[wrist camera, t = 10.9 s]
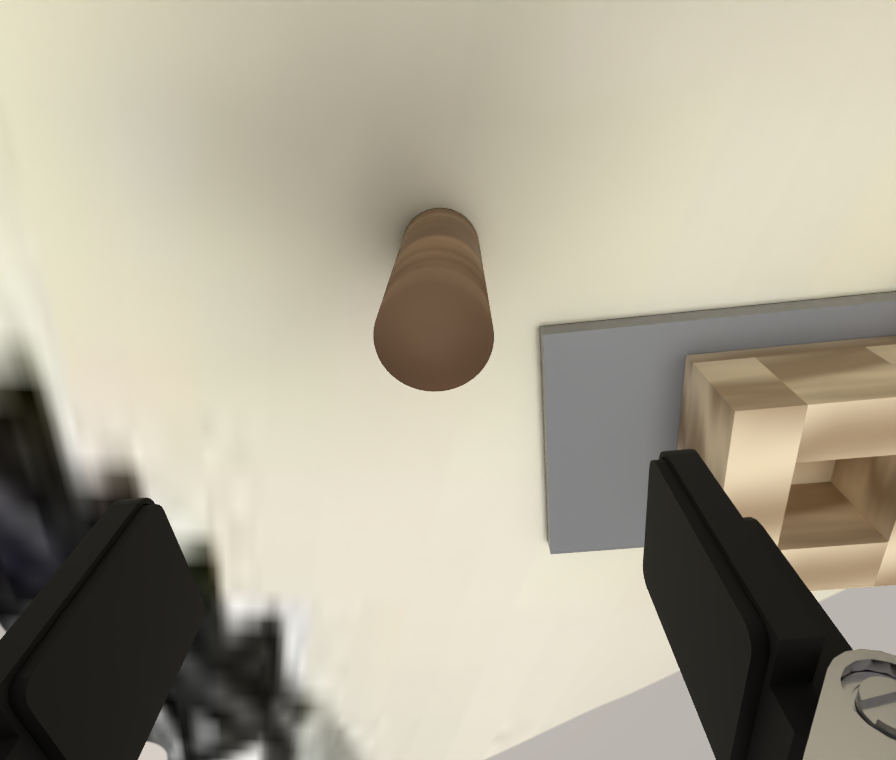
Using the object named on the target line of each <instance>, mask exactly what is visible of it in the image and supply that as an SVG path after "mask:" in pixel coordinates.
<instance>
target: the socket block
mask: <svg viewBox="0 0 896 760" xmlns="http://www.w3.org/2000/svg"><path fill="white" fill-rule="evenodd" d="M682 449H695V450H696V451H697V452H698V454H699V455H700V457H701V458H702V460H703V461H704V462H705V464H706V465H707V467H708V468H709V470H710V471H711V472H712V474H713V475H714V477H715V478H716V480H717V481H718V483H719V484H720V485H721V487H722V488H723V490H724V491H725V493H726V494H727V495H728V497H729V498H730V500H731V501H732V503H733V504H734V506H735V507H736V508H737V510H738V511H739V513H740V514H741V516H742V517H752V518H754V519H756V520H758V521H759V523H760V524H761V525H762V526H763V527H764V528H765V530H766V531H767V533H768V534H769V535H770V537H771V538H772V539H773V541H774V542H775V544H776V545H777V546H778V548H779V549H780V550H781V552H782V553H783V555H784V556H785V557H786V559H787V560H788V561H789V563H790V564H791V566H792V567H793V568H794V570H795V571H796V572H797V574H798V575H799V577H800V578H801V579H802V581H803V582H804V583H805V585H806V586H807V588H808V589H809V590H810V591H815V590H829V589H844V588H857V587H872V586H887V585H896V335H894V336H883V337H873V338H862V339H851V340H841V341H830V342H820V343H809V344H799V345H788V346H777V347H767V348H756V349H746V350H735V351H724V352H714V353H703V354H693V355H686V361H685V371H684V382H683V392H682V403H681V413H680V424H679V435H678V445H677V450H682Z"/></svg>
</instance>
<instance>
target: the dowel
mask: <svg viewBox="0 0 896 760" xmlns="http://www.w3.org/2000/svg"><path fill="white" fill-rule="evenodd" d="M493 343H494V331H493V324H492V318H491V312H490V306H489V300H488V294H487V288H486V282H485V277H484V271H483V265H482V259H481V253H480V247H479V241H478V236H477V233H476V231H475V229H474V227H473V225H472V224H471V223H470V221H469V220H468V219H467V218H466V217H464V216H463V215H462V214H460V213H458V212H456V211H454V210H451V209H446V208H435V209H430V210H427V211H425V212H423V213H421V214H419V215H418V216H417V217H415V218H414V219H413V220H412V221H411V223H410V224H409V225H408V227H407V229H406V231H405V234H404V237H403V240H402V243H401V246H400V249H399V252H398V255H397V258H396V261H395V264H394V267H393V270H392V273H391V276H390V279H389V282H388V285H387V288H386V291H385V294H384V297H383V300H382V303H381V306H380V309H379V312H378V315H377V318H376V321H375V326H374V345H375V349H376V352H377V355H378V357H379V359H380V361H381V363H382V364H383V366H384V367H385V368H386V370H387V371H388V372H389V373H390V374H391V375H392V376H393V377H395V378H396V379H397V380H399V381H400V382H402V383H404V384H406V385H408V386H410V387H413V388H416V389H419V390H424V391H445V390H450V389H454V388H457V387H459V386H462V385H464V384H465V383H467V382H469V381H470V380H472V379H473V378H474V377H475V376H476V375H477V374H479V373H480V371H481V370H482V369H483V368H484V366H485V365H486V363H487V362H488V360H489V357H490V355H491V352H492V349H493Z"/></svg>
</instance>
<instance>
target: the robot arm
mask: <svg viewBox="0 0 896 760" xmlns="http://www.w3.org/2000/svg"><path fill="white" fill-rule="evenodd" d="M643 574H644V579H645V583H646V586H647V589H648V591H649V594H650V596H651V599H652V601H653V604H654V606H655V609H656V611H657V614H658V616H659V619H660V621H661V624H662V626H663V629H664V631H665V634H666V636H667V639H668V641H669V644H670V646H671V648H672V651H673V653H674V656H675V658H676V661H677V663H678V666H679V668H680V671H681V673H682V675H683V678H684V681H685V683H686V686H687V688H688V691H689V693H690V696H691V698H692V701H693V703H694V705H695V708H696V711H697V713H698V716H699V718H700V721H701V723H702V726H703V728H704V730H705V733H706V735H707V738H708V740H709V743H710V745H711V748H712V750H713V753H714V755H715V758H716V760H896V656H895V655H892V654H888V653H885V652H882V651H876V650H867V649H858V650H853V649H852V648H851V647H850V645H849V644H848V643H847V641H846V640H845V638H844V637H843V636H842V634H841V633H840V632H839V630H838V629H837V627H836V626H835V625H834V624H833V622H832V621H831V620H830V618H829V616H828V615H827V614H826V612H825V611H824V610H823V609H822V607H821V605H820V604H819V603H818V601H817V600H816V599H815V597H814V596H813V594H812V593H811V592H810V590H809V589H808V588H807V586H806V585H805V583H804V582H803V581H802V579H801V578H800V577H799V575H798V574H797V572H796V571H795V570H794V568H793V567H792V566H791V564H790V563H789V561H788V560H787V559H786V557H785V556H784V555H783V553H782V552H781V550H780V549H779V548H778V546H777V545H776V544H775V542H774V541H773V539H772V538H771V537H770V535H769V534H768V533H767V531H766V530H765V528H764V527H763V526H762V525H761V524H760V523H759V521H758V520H756V519H754V518H752V517H742V516H741V514H740V513H739V511H738V510H737V508H736V507H735V506H734V504H733V503H732V501H731V500H730V498H729V497H728V495H727V494H726V493H725V491H724V490H723V488H722V487H721V485H720V484H719V483H718V481H717V480H716V478H715V477H714V475H713V474H712V472H711V471H710V470H709V468H708V467H707V465H706V464H705V462H704V461H703V460H702V458H701V457H700V455H699V454H698V452H697V451H696V450H695V449H682V450H671V451H662V452H661V453H660V455H659V460H652V461H651V462H650V466H649V479H648V495H647V510H646V526H645V541H644V557H643ZM203 617H204V602H203V599H202V597H201V594H200V592H199V590H198V587H197V585H196V583H195V581H194V578H193V576H192V574H191V571H190V569H189V567H188V564H187V562H186V560H185V558H184V555H183V553H182V551H181V548H180V546H179V544H178V541H177V539H176V537H175V535H174V532H173V530H172V528H171V525H170V523H169V521H168V519H167V516H166V514H165V512H164V510H163V508H162V507H161V506H160V505H157V504H155V503H154V501H152V500H151V499H150V498H137V499H126V500H118V501H115V502H114V503H113V504H112V505H111V506H110V507H109V508H108V509H107V510H106V512H105V513H104V514H103V515H102V517H101V518H100V519H99V520H98V521H97V523H96V524H95V525H94V526H93V528H92V529H91V530H90V531H89V532H88V534H87V535H86V536H85V537H84V539H83V540H82V541H81V542H80V543H79V545H78V546H77V547H76V548H75V550H74V551H73V552H72V553H71V554H70V556H69V557H68V558H67V559H66V560H65V562H64V563H63V564H62V565H61V567H60V568H59V569H58V570H57V571H56V573H55V574H54V575H53V576H52V578H51V579H50V580H49V581H48V582H47V584H46V585H45V586H44V587H43V589H42V590H41V591H40V592H39V593H38V595H37V596H36V597H35V598H34V599H33V601H32V602H31V603H30V604H29V606H28V607H27V608H26V609H25V610H24V612H23V613H22V614H21V615H20V617H19V618H18V619H17V620H16V621H15V623H14V624H13V625H12V626H11V628H10V629H9V630H8V631H7V632H6V634H5V635H4V636H3V637H2V639H1V640H0V760H138V758H139V756H140V754H141V751H142V749H143V747H144V745H145V743H146V741H147V739H148V736H149V734H150V732H151V730H152V728H153V726H154V724H155V721H156V719H157V717H158V715H159V713H160V711H161V709H162V706H163V704H164V702H165V700H166V698H167V696H168V694H169V691H170V689H171V687H172V685H173V683H174V681H175V679H176V676H177V674H178V672H179V670H180V668H181V666H182V664H183V661H184V659H185V657H186V655H187V653H188V651H189V649H190V646H191V644H192V642H193V640H194V638H195V636H196V634H197V631H198V629H199V627H200V625H201V623H202V620H203Z"/></svg>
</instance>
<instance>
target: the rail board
mask: <svg viewBox="0 0 896 760" xmlns="http://www.w3.org/2000/svg"><path fill="white" fill-rule="evenodd" d="M894 335H896V292H885V293H875V294H865V295H855V296H845V297H835V298H825V299H815V300H804V301H794V302H784V303H774V304H764V305H754V306H744V307H734V308H723V309H713V310H703V311H693V312H683V313H673V314H663V315H653V316H642V317H632V318H622V319H612V320H602V321H592V322H582V323H572V324H561V325H551V326H541V327H540V340H541V367H542V394H543V421H544V448H545V475H546V502H547V529H548V544H549V549H550V554H560V553H573V552H586V551H600V550H613V549H626V548H640V547H644V541H645V526H646V510H647V495H648V479H649V466H650V462H651V461H652V460H659V455H660V453H661V452H662V451H671V450H677V445H678V435H679V424H680V413H681V403H682V392H683V382H684V371H685V361H686V355H693V354H703V353H714V352H724V351H735V350H746V349H756V348H767V347H777V346H788V345H799V344H809V343H820V342H830V341H841V340H851V339H862V338H873V337H883V336H894Z"/></svg>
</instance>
